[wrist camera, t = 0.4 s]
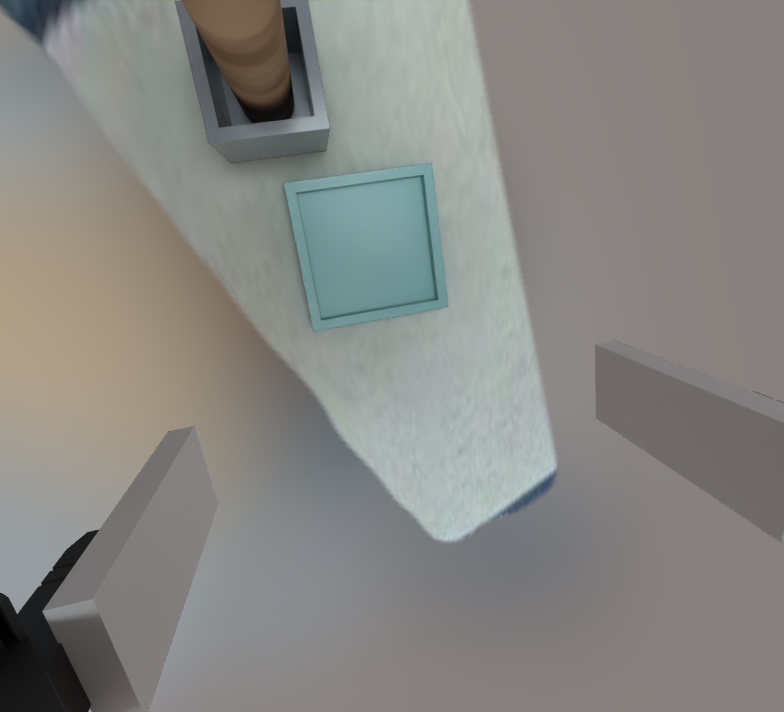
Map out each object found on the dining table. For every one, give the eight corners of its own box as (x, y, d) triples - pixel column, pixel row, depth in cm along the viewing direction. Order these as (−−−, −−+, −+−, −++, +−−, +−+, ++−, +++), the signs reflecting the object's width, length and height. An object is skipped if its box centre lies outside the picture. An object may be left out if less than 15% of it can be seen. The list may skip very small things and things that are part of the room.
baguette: (234, 74, 33) (150, -98, 16) (288, 68, 34) (263, -104, 17) (247, 132, 34) (181, 30, 17) (299, 126, 35) (285, 20, 18)
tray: (285, 185, 37) (283, 183, 35) (426, 166, 38) (431, 162, 37) (313, 327, 40) (313, 331, 38) (442, 304, 42) (448, 307, 40)
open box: (206, 54, 34) (174, 1, 26) (307, 44, 34) (306, -11, 27) (231, 162, 36) (208, 143, 28) (326, 150, 37) (329, 128, 29)
